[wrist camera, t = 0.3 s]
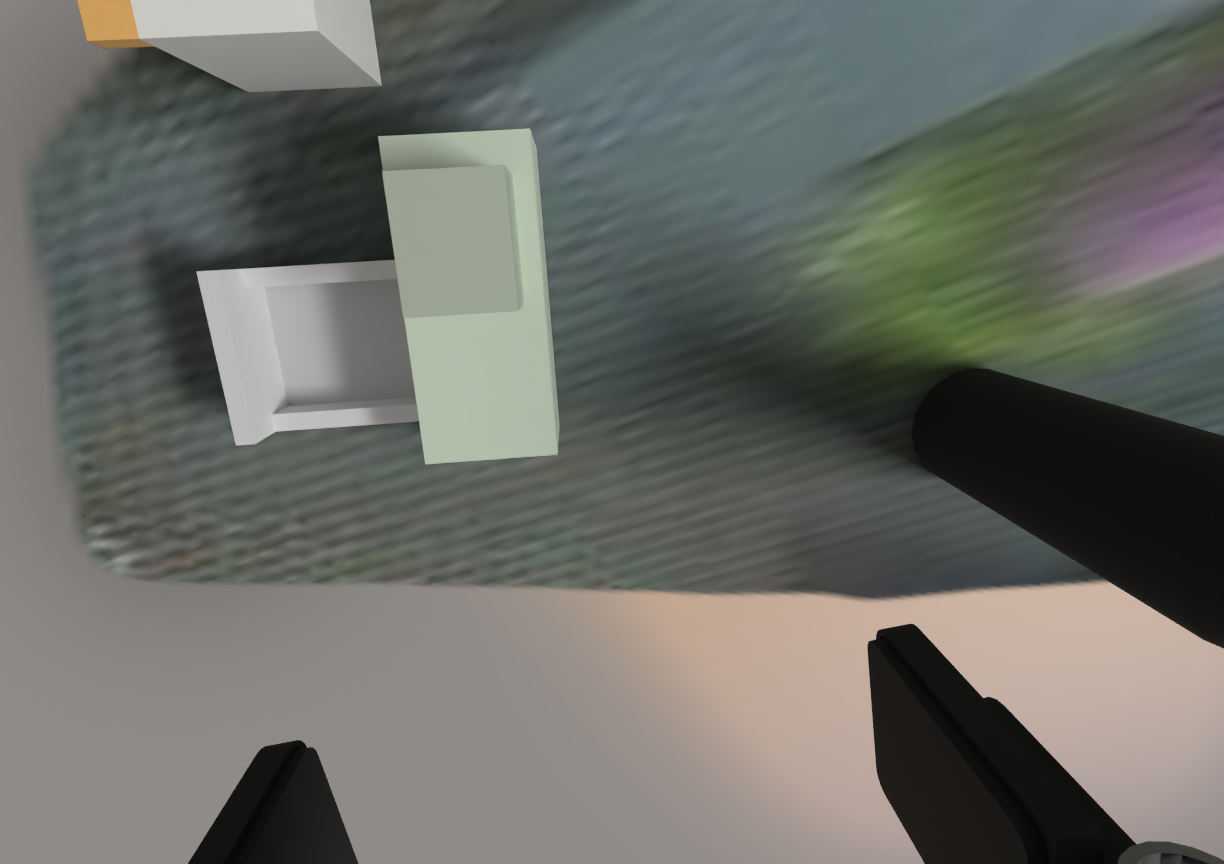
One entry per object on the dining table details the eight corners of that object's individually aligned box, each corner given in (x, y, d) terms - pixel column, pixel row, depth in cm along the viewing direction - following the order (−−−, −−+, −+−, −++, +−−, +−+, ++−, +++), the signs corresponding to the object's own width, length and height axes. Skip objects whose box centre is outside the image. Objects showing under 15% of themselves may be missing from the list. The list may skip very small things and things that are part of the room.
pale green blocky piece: (224, 164, 35) (92, 132, 25) (536, 148, 36) (523, 110, 26) (282, 445, 39) (188, 507, 30) (559, 425, 40) (555, 480, 30)
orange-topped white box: (187, -15, 33) (49, -110, 24) (366, -22, 33) (294, -118, 24) (210, 94, 34) (87, 41, 25) (381, 85, 34) (317, 30, 26)
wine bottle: (933, 359, 40) (1832, 628, 12) (1042, 379, 41) (2138, 677, 12) (897, 471, 42) (1593, 941, 14) (1003, 488, 43) (1871, 965, 14)
